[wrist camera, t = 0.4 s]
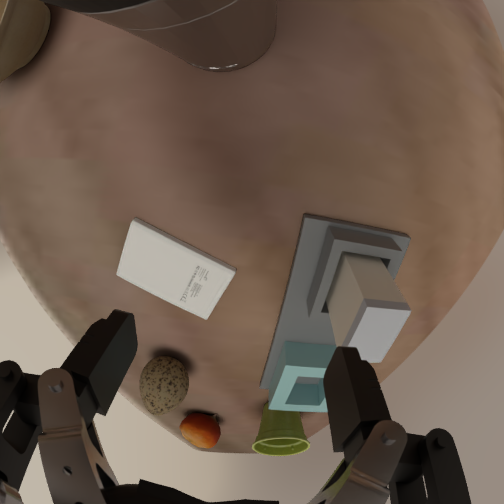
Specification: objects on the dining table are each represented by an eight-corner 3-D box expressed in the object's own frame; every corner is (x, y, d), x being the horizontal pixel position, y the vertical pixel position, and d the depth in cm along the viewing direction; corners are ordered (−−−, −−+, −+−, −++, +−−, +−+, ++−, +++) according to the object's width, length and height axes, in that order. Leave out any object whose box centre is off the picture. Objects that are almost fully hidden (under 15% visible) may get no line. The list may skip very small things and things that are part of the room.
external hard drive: (137, 214, 28) (237, 265, 30) (121, 269, 32) (208, 313, 34) (131, 220, 27) (235, 273, 29) (115, 276, 30) (205, 321, 33)
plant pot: (311, 392, 41) (315, 437, 33) (303, 417, 45) (304, 455, 38) (255, 392, 41) (252, 437, 34) (254, 416, 46) (251, 455, 38)
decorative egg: (142, 355, 39) (120, 405, 30) (166, 339, 36) (144, 395, 28) (176, 379, 41) (161, 428, 32) (203, 365, 39) (190, 421, 30)
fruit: (235, 431, 47) (211, 458, 42) (206, 415, 52) (183, 439, 46) (225, 414, 44) (197, 444, 38) (194, 396, 48) (168, 423, 43)
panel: (304, 213, 26) (310, 235, 22) (407, 234, 27) (427, 256, 22) (259, 383, 40) (258, 409, 35) (331, 388, 40) (335, 413, 36)
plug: (339, 242, 27) (367, 306, 18) (374, 249, 27) (411, 310, 18) (323, 291, 29) (339, 361, 21) (356, 295, 30) (380, 362, 21)
